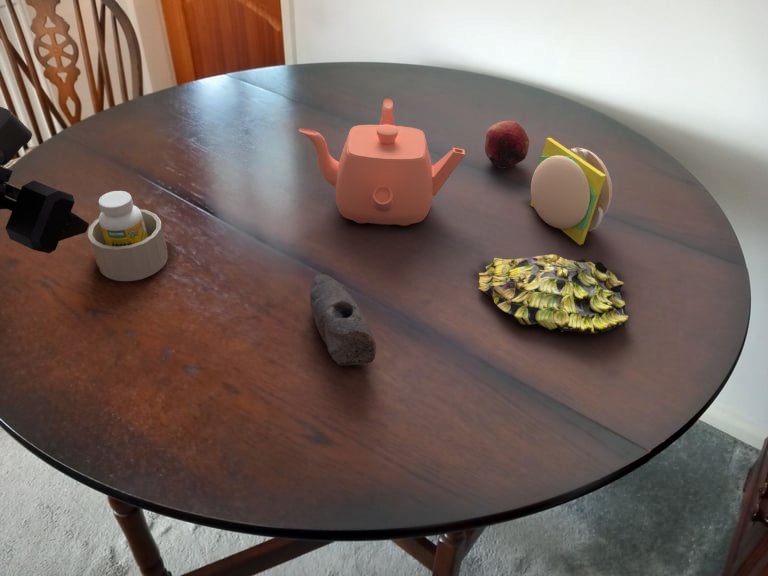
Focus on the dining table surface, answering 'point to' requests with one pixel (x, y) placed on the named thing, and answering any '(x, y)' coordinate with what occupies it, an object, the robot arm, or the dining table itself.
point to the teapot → (384, 172)
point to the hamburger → (571, 189)
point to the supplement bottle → (120, 219)
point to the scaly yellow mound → (556, 293)
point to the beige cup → (131, 252)
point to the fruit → (506, 144)
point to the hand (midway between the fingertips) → (57, 215)
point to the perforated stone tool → (341, 323)
